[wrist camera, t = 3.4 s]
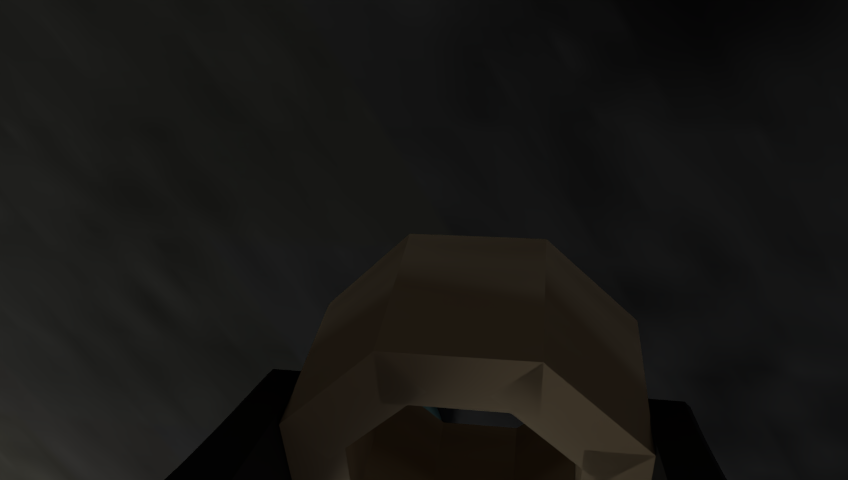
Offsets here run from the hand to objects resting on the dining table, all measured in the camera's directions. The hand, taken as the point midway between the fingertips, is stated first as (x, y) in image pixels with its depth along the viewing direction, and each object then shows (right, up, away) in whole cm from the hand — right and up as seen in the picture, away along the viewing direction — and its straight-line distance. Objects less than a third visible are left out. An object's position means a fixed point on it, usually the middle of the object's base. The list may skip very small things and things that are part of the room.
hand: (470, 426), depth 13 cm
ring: (0, +1, +1) cm, 2 cm away
